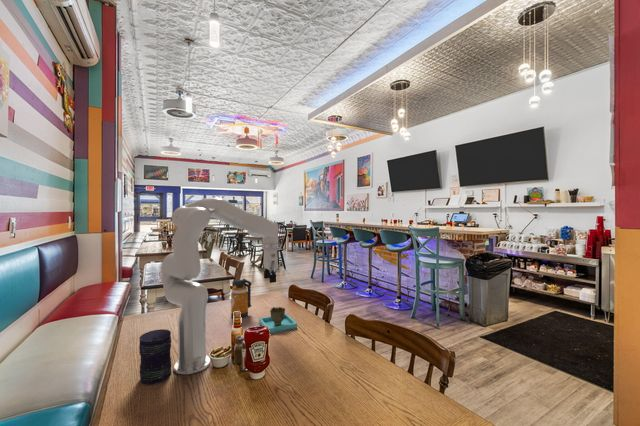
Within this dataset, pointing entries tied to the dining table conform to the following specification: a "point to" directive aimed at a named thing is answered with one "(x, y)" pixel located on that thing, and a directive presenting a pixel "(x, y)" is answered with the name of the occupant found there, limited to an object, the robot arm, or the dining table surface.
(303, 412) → the dining table surface
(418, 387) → the dining table surface
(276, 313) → the cup
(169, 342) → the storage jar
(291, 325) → the dish
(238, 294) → the canister
